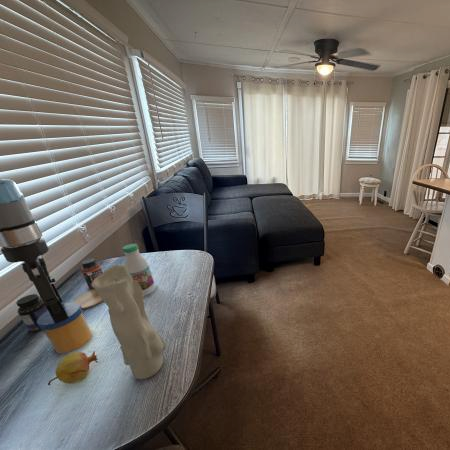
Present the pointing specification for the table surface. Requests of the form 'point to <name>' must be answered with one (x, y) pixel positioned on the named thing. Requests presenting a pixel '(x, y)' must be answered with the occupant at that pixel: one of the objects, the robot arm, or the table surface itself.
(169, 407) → the table surface
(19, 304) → the pill bottle
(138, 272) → the milk bottle
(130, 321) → the vase
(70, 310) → the lid
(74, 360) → the fruit
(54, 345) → the jar
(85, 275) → the supplement bottle
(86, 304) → the coaster
